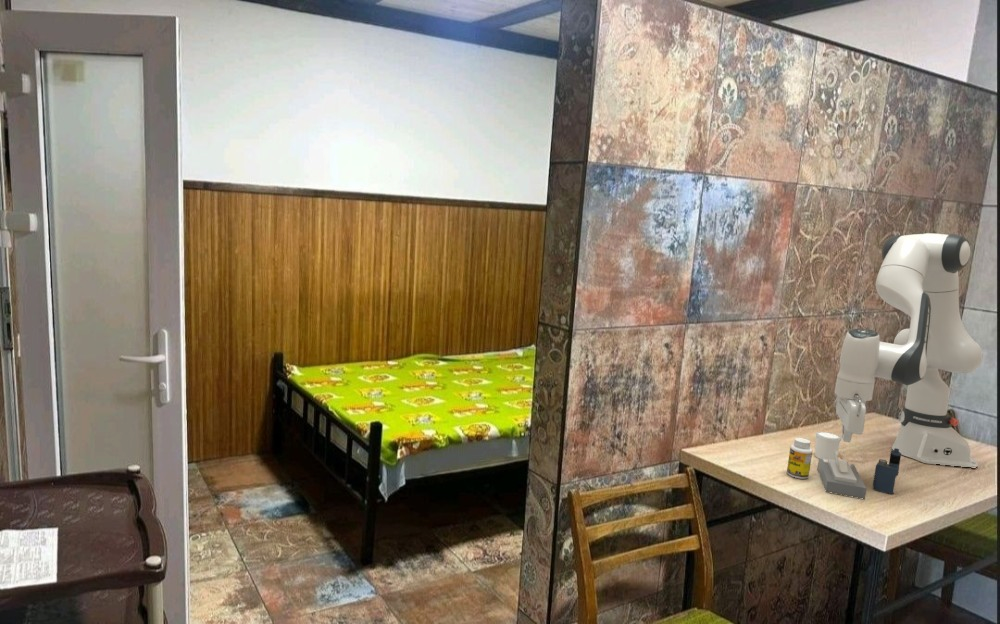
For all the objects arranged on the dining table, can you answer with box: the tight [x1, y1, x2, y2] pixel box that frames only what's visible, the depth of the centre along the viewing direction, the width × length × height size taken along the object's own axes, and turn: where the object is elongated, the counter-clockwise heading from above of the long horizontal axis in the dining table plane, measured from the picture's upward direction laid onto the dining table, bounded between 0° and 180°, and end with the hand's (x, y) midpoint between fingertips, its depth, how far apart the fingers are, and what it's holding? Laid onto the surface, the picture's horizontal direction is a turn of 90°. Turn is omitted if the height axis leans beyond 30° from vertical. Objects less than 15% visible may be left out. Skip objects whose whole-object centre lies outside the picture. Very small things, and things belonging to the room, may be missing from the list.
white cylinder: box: [814, 431, 842, 460], centre depth 197 cm, size 7×7×7 cm
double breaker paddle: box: [835, 450, 848, 472], centre depth 177 cm, size 2×8×3 cm, turn 161°
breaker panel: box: [816, 458, 867, 500], centre depth 177 cm, size 9×18×4 cm, turn 161°
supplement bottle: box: [786, 437, 813, 480], centre depth 180 cm, size 6×6×10 cm
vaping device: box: [872, 448, 902, 495], centre depth 173 cm, size 3×5×12 cm, turn 58°
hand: (845, 440), depth 176 cm, fingers closed
